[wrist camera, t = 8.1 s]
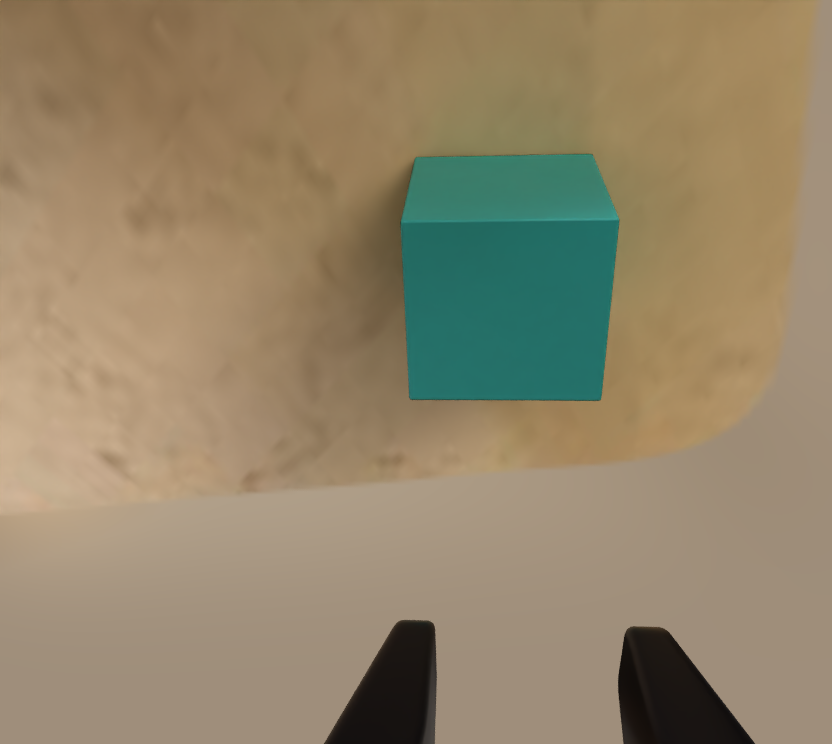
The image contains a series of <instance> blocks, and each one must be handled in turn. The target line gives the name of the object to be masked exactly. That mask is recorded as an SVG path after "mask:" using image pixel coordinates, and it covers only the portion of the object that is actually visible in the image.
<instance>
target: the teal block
mask: <svg viewBox="0 0 832 744" xmlns="http://www.w3.org/2000/svg"><path fill="white" fill-rule="evenodd" d="M400 224H401V243H402V263H403V283H404V302H405V322H406V341H407V361H408V381H409V398H410V399H411V400H560V401H599V400H601V396H602V386H603V376H604V367H605V357H606V347H607V337H608V327H609V317H610V307H611V298H612V288H613V278H614V268H615V258H616V248H617V238H618V228H619V218H618V215H617V213H616V210H615V208H614V205H613V203H612V201H611V198H610V196H609V193H608V191H607V188H606V186H605V184H604V181H603V179H602V176H601V174H600V172H599V169H598V167H597V164H596V162H595V159H594V157H593V155H592V154H567V155H512V156H457V157H416V158H415V160H414V165H413V169H412V174H411V178H410V182H409V187H408V191H407V196H406V200H405V205H404V209H403V213H402V218H401V222H400Z"/></svg>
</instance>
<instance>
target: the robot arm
mask: <svg viewBox="0 0 832 744" xmlns="http://www.w3.org/2000/svg"><path fill="white" fill-rule="evenodd" d="M436 678H437V672H436V641H435V627H434V624H433V623H432V622H430V621H421V620H401V621H399V622H397V623H396V625H395V626H394V627H393V629H392V630H391V632H390V634H389V635H388V637H387V639H386V640H385V642H384V644H383V645H382V647H381V649H380V650H379V652H378V654H377V656H376V657H375V659H374V661H373V662H372V664H371V666H370V667H369V669H368V671H367V672H366V674H365V676H364V677H363V679H362V681H361V682H360V684H359V686H358V688H357V689H356V691H355V693H354V694H353V696H352V698H351V699H350V701H349V703H348V704H347V706H346V708H345V710H344V711H343V713H342V714H341V716H340V718H339V719H338V721H337V723H336V724H335V726H334V728H333V730H332V731H331V733H330V735H329V736H328V738H327V740H326V742H325V743H324V744H435V716H436V681H437V679H436ZM618 693H619V703H620V713H621V723H622V733H623V742H624V744H755V743H754V742H753V740H752V739H751V738H750V737H749V735H748V734H747V733H746V731H745V730H744V729H743V727H742V726H741V725H740V724H739V722H738V721H737V720H736V718H735V717H734V716H733V714H732V713H731V712H730V711H729V709H728V708H727V707H726V705H725V704H724V703H723V702H722V700H721V699H720V698H719V697H718V695H717V694H716V692H714V690H713V689H712V687H711V686H710V685H709V684H708V682H707V681H706V679H705V678H704V677H703V676H702V674H701V673H700V672H699V671H698V669H697V668H696V667H695V665H694V664H693V663H692V661H691V660H690V659H689V657H688V656H687V655H686V654H685V652H684V651H683V650H682V648H681V647H680V646H679V644H678V643H677V642H676V641H675V640H674V638H673V637H672V635H671V634H670V633H669V632H668V631H667V630H665V629H663V628H660V627H635V626H633V627H630V628H628V629H627V631H626V633H625V637H624V642H623V649H622V656H621V662H620V669H619V676H618Z"/></svg>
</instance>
